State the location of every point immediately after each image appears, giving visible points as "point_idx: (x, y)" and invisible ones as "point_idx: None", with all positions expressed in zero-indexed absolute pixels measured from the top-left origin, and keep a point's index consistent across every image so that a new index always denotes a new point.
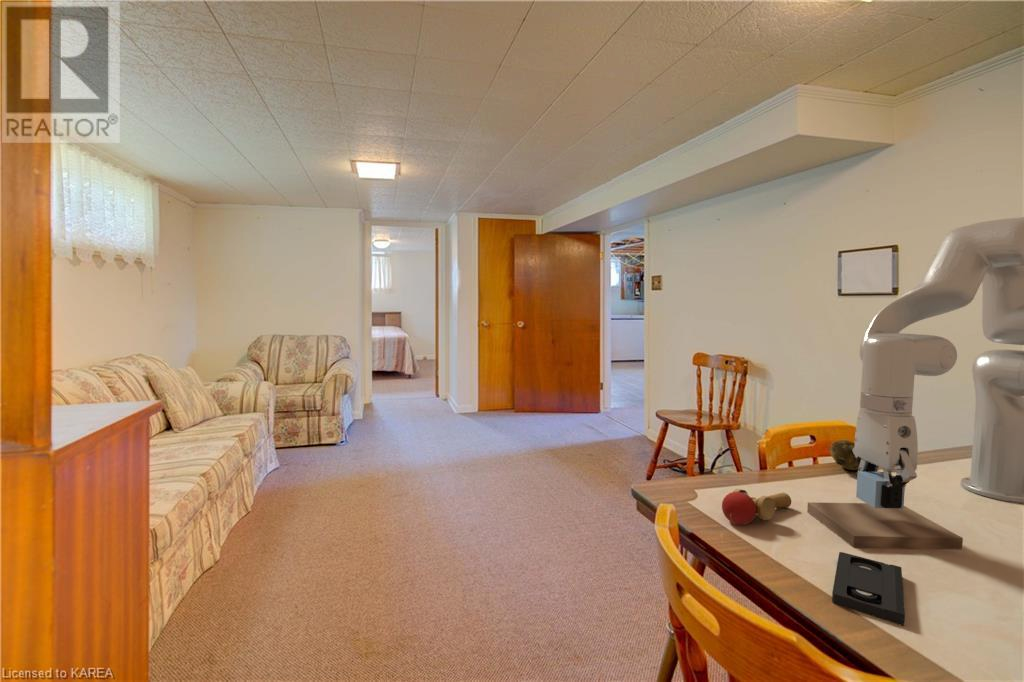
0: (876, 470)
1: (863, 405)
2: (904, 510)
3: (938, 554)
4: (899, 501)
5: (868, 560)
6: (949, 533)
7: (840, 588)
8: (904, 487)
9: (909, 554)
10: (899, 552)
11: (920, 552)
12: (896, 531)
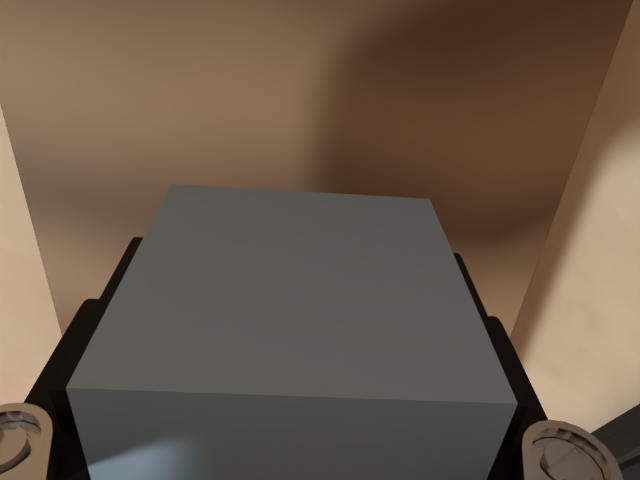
0: (55, 473)
1: None
2: None
3: (626, 78)
4: (505, 336)
5: (614, 454)
6: None
7: None
8: (578, 427)
9: (573, 229)
10: (544, 258)
11: (575, 161)
12: (474, 239)
